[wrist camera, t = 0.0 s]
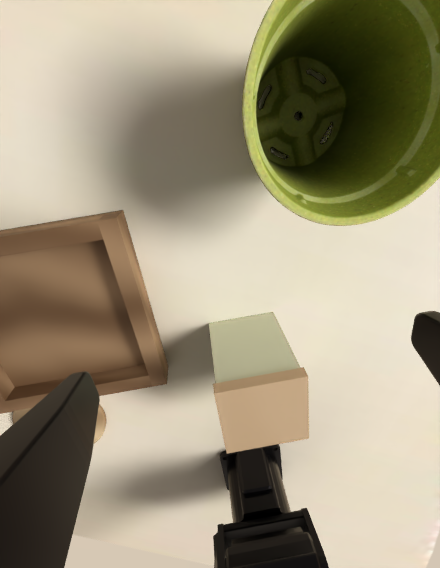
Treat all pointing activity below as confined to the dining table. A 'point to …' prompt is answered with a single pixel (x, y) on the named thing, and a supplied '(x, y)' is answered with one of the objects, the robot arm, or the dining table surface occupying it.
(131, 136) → the dining table surface
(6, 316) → the walnut tray
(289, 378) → the sage canister
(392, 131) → the plant pot
